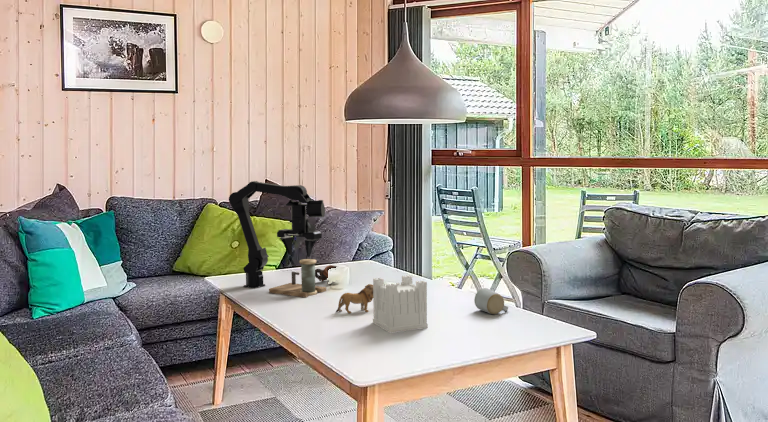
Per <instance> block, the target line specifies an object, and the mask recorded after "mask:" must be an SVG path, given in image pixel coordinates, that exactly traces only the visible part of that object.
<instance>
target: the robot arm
mask: <svg viewBox="0 0 768 422" xmlns="http://www.w3.org/2000/svg"><path fill="white" fill-rule="evenodd" d="M256 192H258V193H265V194H271V195H277V196H281V197H282V196H283V197H284V198H287V199H289V200H288V202H287V203H285V205H286V206H287V207H291V208H290V209H291V214H290V215H291V216H290V217H291V219H289V223H291V228H289V229H288V228H284V229H277V231H276V238H279V240H280V241H281V242H282V244H283V246H284V247H285V249H286V251H287V253H288V255H289V256H291V255H292V254H293V240H294V238H295V237H300V238H305V240H304V245H305V251H306V256H307V257H310V256H311V254H312V250H313V248H314V246H315V243H316V242H318V241H319V240H320V239H322V238H323V236H322V234H323V233H322V232H321V231H320V230H319V231H317V230H316V228H317V227H316V225H315V224H312V223H310V222H309V219H308V218H307V216H308V217H309V218H324V217H325V215H326V206H325V203H324V200H323V199H318V200H313V199H312V198H311V196H310V195H309V194H308V191H307V188H306V186H304V185H300V184H298V185H280V184H274V183H267V182H260V181H258V180H254V181H253V180H252V181H250V182H248V184H246V185H245V186H242V188H241V189H239V190H237V192H236V191H234V192H232V193H231V194H230V195H229V197H228V202H229V204H230V206H231V208H232V210H233V212H235V214H236V215H237V218H238V220H239V223H240V226H241V230H242V233H243V235H244V239H245V242H246V245H247V249H248V251H247V259H248V263H247V264H246V265H245V266H244V267H243V268H242V269H243V272H244V274H245V284H243V287H244V288H251V289H257V288H261V287H265V286H266V284H265V283H264V275H263V270H264V268H265V266H266V265H267V264H268V261H269V257H270V255H268V252H267V248H266V247H262V246H261V244H260V243H259V240H258V237H257V236H258V235H257V233H256V230H255V226H254V224H253V221H252V218H251V214H250V211H249V210H250V200H249V199H250V198H251V197H252V196H254V194H256Z"/></svg>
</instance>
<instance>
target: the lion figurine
mask: <svg viewBox="0 0 768 422" xmlns="http://www.w3.org/2000/svg"><path fill="white" fill-rule="evenodd" d="M371 302H373V283H372V284H371V283H369V284H366V285H365V286H364V288H363V289H361V290H360V291H358V292H357V293H353V292H345V293H343V294H342V295H341V296H340V298H339V301H338V307H337V309H336V311H335V313H339V312H340V313H342V312H343V309H341V308H342V307H343V306H345V308H344V309H345V311H346V312H347V314H352V311H351V310H350V309H349V306H350V305H351V304H353V305H359V304H360V311H364V312H366V313H369V312H370V311H369V310H368V304H369V303H371Z"/></svg>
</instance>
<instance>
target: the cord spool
mask: <svg viewBox="0 0 768 422" xmlns="http://www.w3.org/2000/svg"><path fill="white" fill-rule="evenodd" d="M316 264H317V259H315V258H313V259H312V258H303V259H300V260H299V265H300V269H301V270H300V271H301V273H300V274H301V276H300V277H301V284H302V291H300V292H306V293H308V297H310V296H316V295H317V294H318V292H317V290H315V286H316V277H315V270H316Z"/></svg>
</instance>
